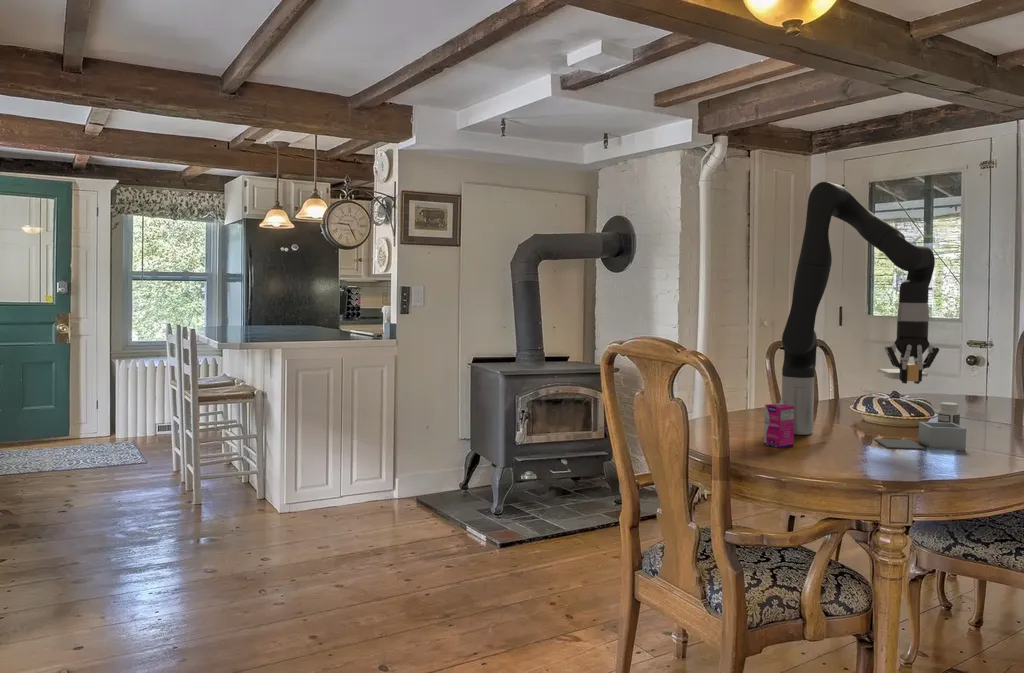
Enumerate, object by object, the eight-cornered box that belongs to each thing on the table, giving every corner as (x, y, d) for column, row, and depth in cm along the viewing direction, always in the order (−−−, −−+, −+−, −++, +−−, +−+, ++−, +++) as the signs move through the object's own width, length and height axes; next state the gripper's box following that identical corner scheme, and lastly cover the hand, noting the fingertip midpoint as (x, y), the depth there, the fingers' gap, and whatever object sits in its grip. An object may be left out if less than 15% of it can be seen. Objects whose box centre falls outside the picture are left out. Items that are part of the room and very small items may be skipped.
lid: (877, 375, 221) (878, 359, 221) (914, 376, 220) (914, 360, 219) (893, 381, 207) (894, 364, 207) (932, 382, 206) (933, 365, 206)
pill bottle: (953, 434, 233) (955, 402, 232) (962, 438, 227) (964, 405, 227) (933, 434, 233) (935, 401, 233) (942, 437, 228) (943, 404, 227)
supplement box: (762, 444, 215) (764, 404, 215) (778, 442, 218) (779, 402, 217) (778, 448, 210) (780, 407, 210) (794, 446, 213) (795, 405, 212)
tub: (929, 448, 211) (930, 427, 211) (918, 442, 220) (919, 421, 220) (965, 450, 210) (966, 428, 209) (952, 443, 219) (953, 422, 218)
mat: (887, 448, 212) (887, 446, 212) (873, 440, 223) (874, 438, 223) (926, 449, 210) (926, 448, 210) (910, 441, 222) (910, 440, 222)
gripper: (935, 319, 210) (932, 382, 211) (881, 318, 212) (878, 381, 213) (946, 320, 203) (943, 385, 204) (889, 319, 205) (887, 384, 206)
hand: (910, 383), depth 209 cm, fingers closed on lid, 2 cm apart
